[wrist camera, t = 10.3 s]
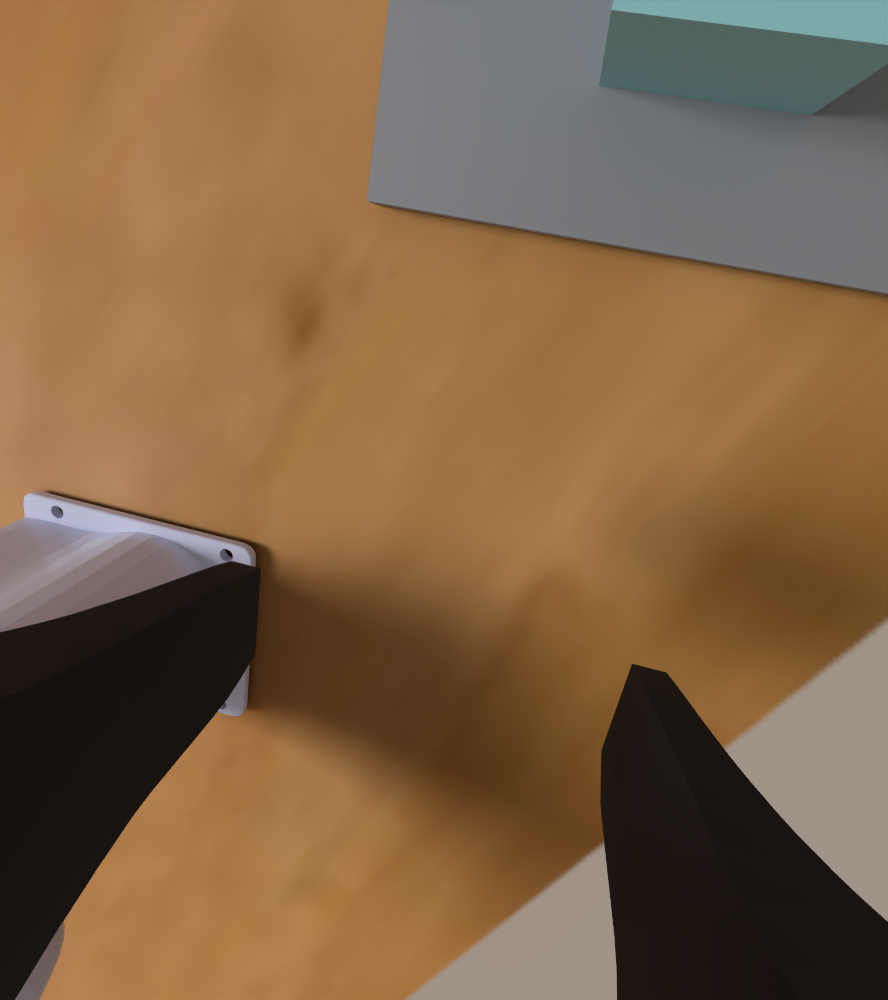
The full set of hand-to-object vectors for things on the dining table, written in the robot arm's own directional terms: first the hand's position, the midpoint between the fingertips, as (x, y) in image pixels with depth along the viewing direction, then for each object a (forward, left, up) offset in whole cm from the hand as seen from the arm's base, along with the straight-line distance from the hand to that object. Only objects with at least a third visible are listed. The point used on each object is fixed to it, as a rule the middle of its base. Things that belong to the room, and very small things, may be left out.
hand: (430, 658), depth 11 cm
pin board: (+3, +14, -9) cm, 17 cm away
